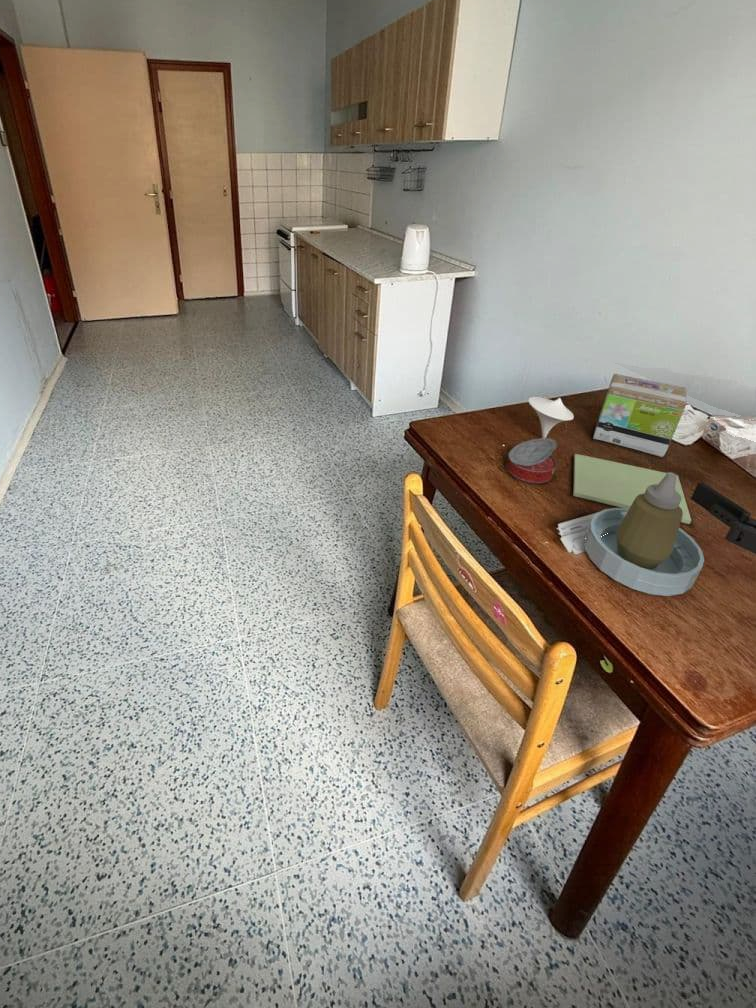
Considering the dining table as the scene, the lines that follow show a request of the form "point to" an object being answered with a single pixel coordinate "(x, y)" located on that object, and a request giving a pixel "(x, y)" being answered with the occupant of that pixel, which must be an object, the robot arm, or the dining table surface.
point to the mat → (617, 482)
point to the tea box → (640, 414)
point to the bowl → (661, 580)
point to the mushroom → (550, 412)
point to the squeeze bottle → (651, 525)
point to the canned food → (532, 460)
